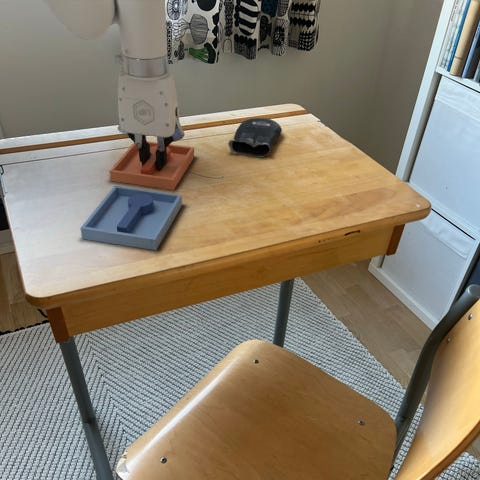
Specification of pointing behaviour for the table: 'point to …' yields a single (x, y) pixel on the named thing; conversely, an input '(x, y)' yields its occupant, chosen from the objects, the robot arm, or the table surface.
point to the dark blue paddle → (135, 212)
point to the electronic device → (255, 137)
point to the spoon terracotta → (153, 161)
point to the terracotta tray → (166, 178)
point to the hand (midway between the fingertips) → (153, 166)
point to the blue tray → (146, 229)
